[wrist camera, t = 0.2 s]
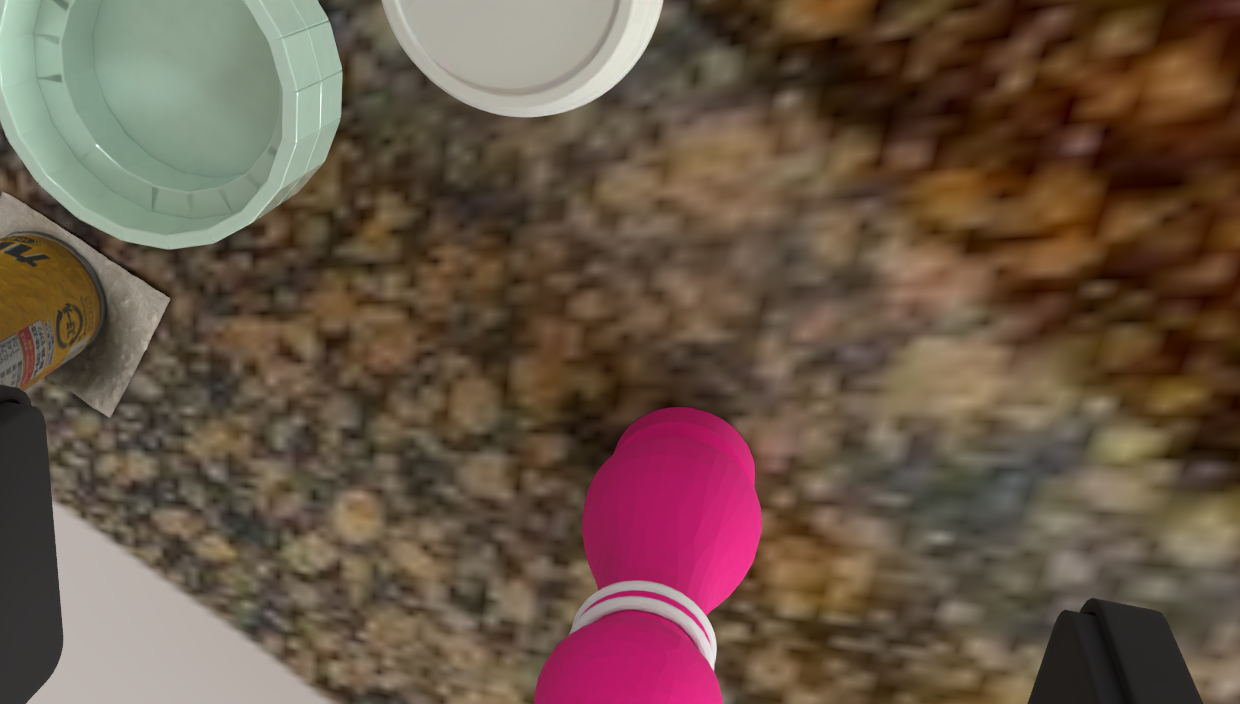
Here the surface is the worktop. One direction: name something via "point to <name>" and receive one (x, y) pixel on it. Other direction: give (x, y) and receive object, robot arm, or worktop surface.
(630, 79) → the worktop surface
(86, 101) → the bowl
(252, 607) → the worktop surface
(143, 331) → the condiment
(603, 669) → the pepper mill
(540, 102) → the coffee cup
